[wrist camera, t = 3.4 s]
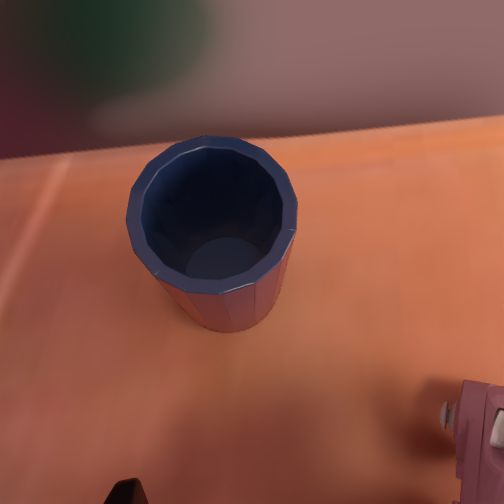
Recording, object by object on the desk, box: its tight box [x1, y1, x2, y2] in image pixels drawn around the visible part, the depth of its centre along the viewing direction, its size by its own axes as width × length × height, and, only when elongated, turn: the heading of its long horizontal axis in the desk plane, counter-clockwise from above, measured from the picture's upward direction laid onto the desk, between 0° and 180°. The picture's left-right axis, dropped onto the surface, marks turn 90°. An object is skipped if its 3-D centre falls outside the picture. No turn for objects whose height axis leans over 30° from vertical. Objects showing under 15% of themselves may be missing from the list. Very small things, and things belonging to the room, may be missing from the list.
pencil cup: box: [126, 136, 298, 333], centre depth 19 cm, size 6×6×10 cm
